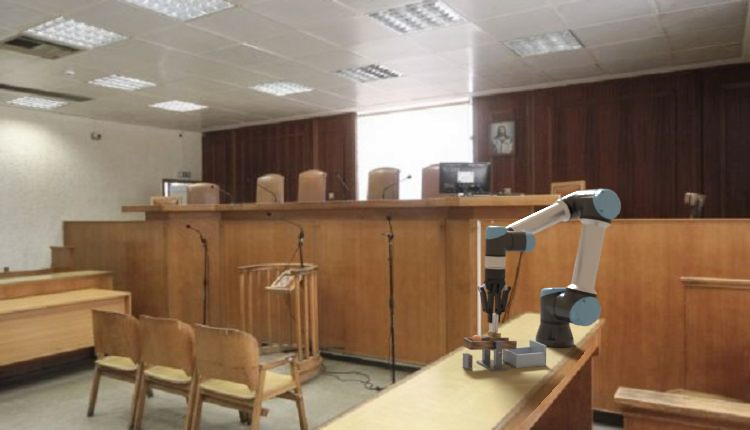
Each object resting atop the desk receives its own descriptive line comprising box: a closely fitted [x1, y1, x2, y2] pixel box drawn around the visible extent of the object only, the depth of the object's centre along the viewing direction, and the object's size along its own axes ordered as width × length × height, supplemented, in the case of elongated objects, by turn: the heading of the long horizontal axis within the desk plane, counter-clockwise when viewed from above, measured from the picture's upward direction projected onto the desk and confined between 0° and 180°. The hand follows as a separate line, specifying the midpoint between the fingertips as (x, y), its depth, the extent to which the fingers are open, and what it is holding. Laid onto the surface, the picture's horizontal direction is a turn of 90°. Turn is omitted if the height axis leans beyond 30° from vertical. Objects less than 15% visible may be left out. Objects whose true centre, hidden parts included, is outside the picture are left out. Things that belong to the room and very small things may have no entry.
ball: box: [471, 334, 482, 341], centre depth 186 cm, size 3×3×3 cm
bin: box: [502, 339, 547, 369], centre depth 192 cm, size 12×9×7 cm
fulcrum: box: [462, 335, 509, 372], centre depth 186 cm, size 13×11×10 cm
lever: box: [462, 330, 518, 351], centre depth 191 cm, size 18×14×3 cm
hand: (493, 331), depth 198 cm, fingers closed, pressing on lever
